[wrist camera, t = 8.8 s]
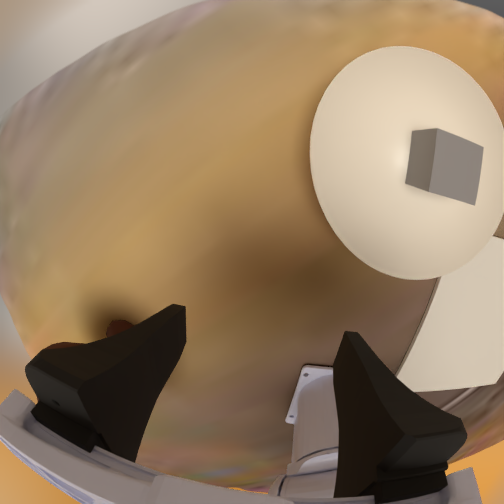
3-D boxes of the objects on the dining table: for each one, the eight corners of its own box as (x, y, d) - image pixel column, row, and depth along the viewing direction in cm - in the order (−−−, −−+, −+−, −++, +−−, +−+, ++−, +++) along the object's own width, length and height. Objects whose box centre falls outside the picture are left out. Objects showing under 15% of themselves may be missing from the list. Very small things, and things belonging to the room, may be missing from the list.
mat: (493, 381, 23) (495, 383, 22) (387, 389, 25) (388, 392, 24) (553, 255, 16) (555, 257, 16) (453, 224, 18) (456, 226, 18)
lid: (478, 285, 15) (503, 310, 12) (293, 259, 16) (292, 287, 13) (510, 96, 10) (541, 93, 7) (319, 25, 11) (325, -5, 8)
